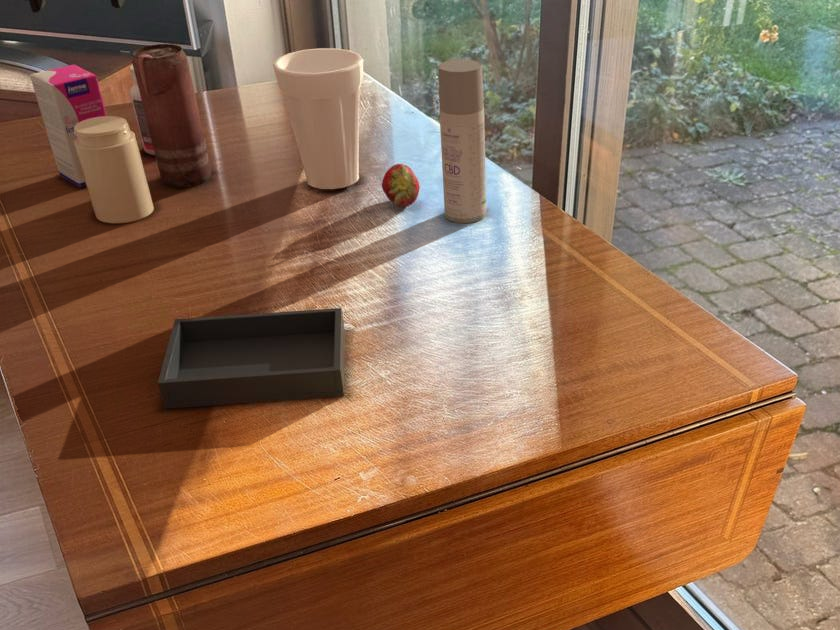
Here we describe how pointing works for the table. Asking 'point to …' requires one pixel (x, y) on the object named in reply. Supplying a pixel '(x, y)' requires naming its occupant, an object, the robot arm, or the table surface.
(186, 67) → the can
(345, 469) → the table surface
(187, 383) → the tray
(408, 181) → the fruit
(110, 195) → the jar
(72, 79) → the supplement box
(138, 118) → the pill bottle
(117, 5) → the robot arm
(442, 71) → the container
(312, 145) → the cup
